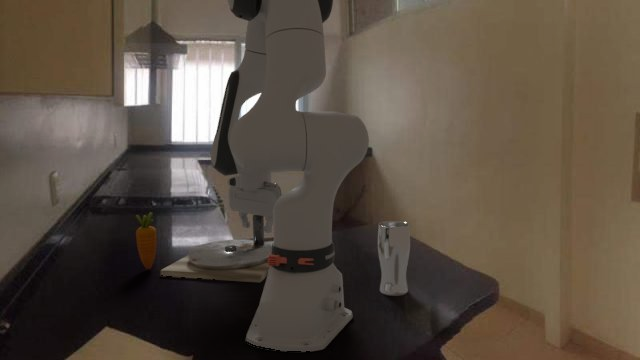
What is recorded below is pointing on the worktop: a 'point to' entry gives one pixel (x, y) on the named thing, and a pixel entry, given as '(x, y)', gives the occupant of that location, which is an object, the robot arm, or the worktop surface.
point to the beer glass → (393, 256)
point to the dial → (233, 251)
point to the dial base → (217, 272)
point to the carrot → (146, 241)
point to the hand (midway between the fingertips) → (256, 229)
